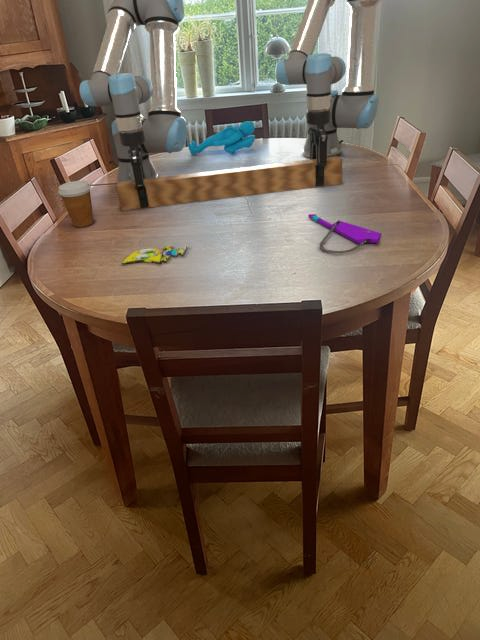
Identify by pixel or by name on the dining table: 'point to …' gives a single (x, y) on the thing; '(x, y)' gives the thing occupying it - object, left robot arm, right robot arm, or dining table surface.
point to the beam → (229, 183)
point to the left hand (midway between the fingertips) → (145, 204)
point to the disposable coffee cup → (77, 202)
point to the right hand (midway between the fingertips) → (317, 183)
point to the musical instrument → (348, 233)
